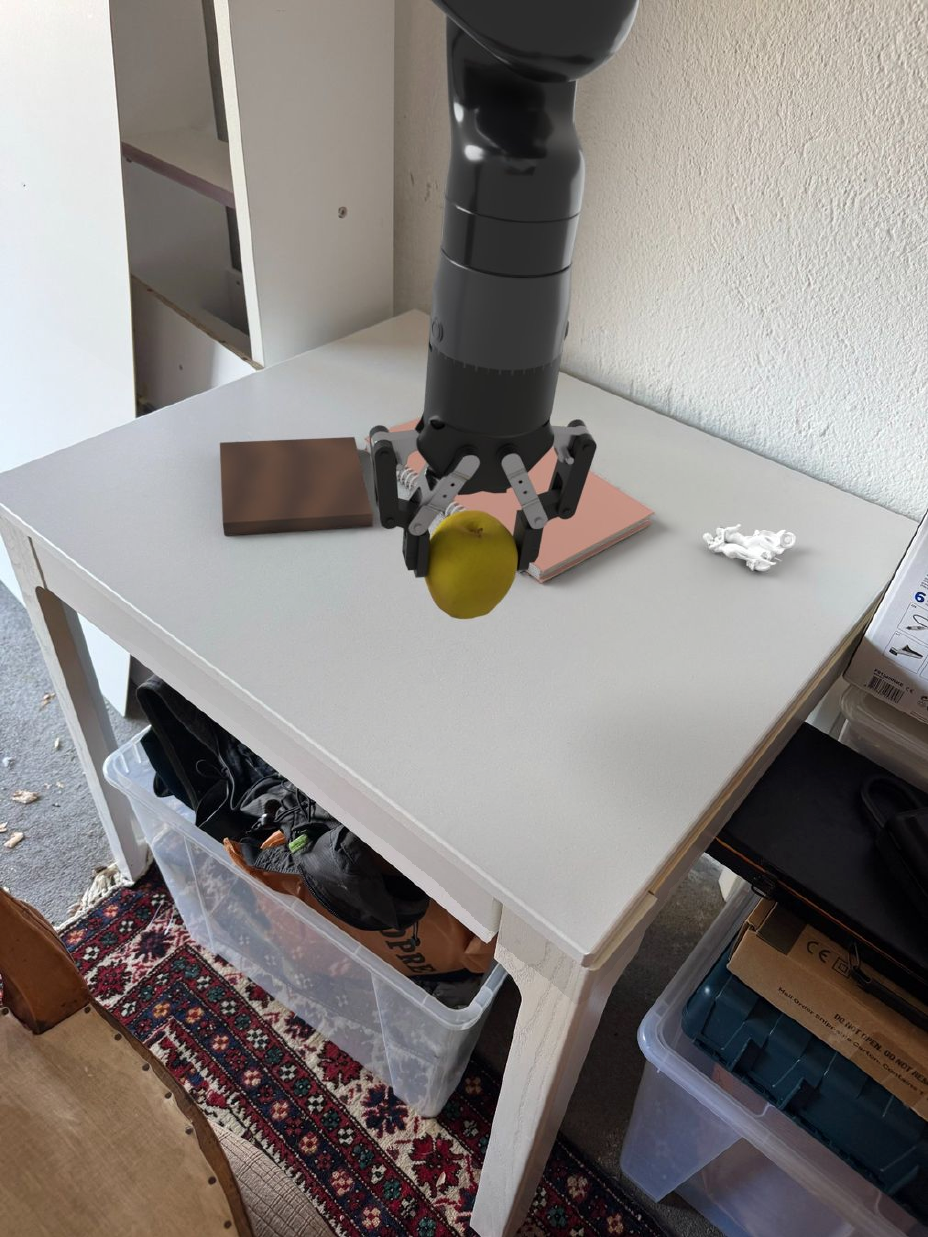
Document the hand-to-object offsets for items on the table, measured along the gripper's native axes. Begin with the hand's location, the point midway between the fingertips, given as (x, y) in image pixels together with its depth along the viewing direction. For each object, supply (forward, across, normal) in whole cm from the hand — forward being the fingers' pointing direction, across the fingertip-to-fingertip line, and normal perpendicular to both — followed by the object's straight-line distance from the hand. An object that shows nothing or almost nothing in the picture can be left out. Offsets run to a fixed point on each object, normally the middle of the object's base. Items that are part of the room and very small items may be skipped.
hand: (468, 566), depth 62 cm
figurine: (+15, -33, -17) cm, 40 cm away
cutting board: (+15, +10, -32) cm, 37 cm away
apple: (+4, 0, 0) cm, 4 cm away
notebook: (+15, -11, -30) cm, 35 cm away
